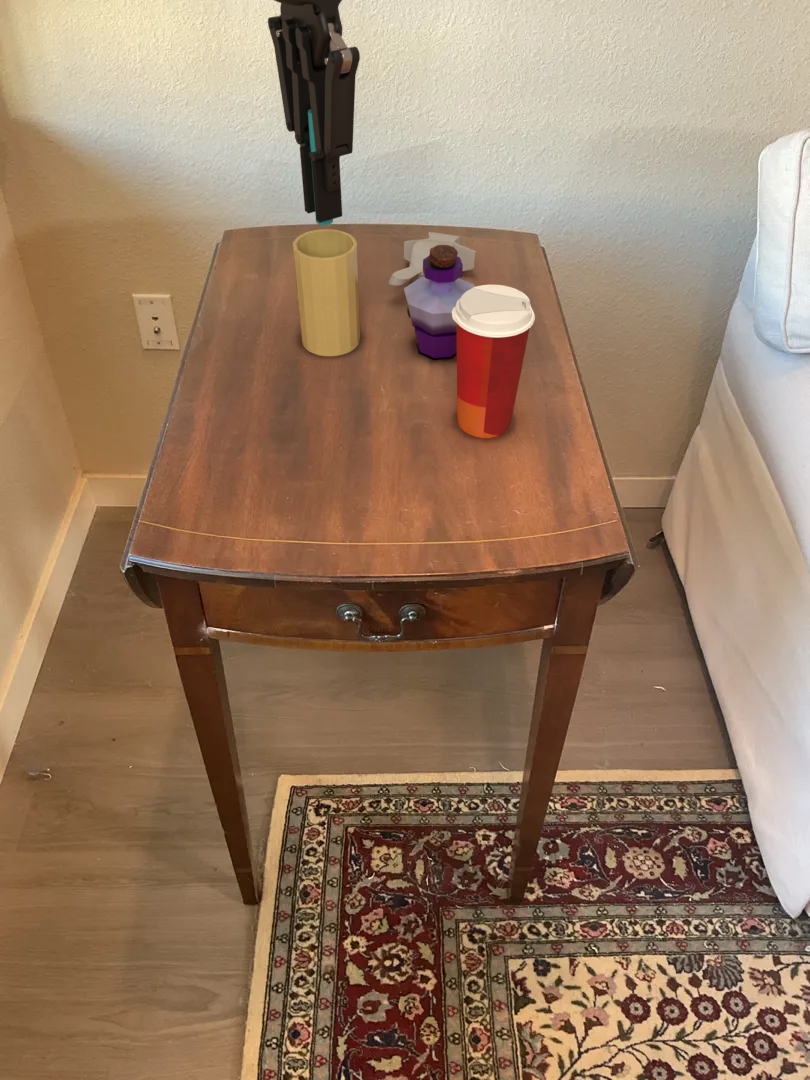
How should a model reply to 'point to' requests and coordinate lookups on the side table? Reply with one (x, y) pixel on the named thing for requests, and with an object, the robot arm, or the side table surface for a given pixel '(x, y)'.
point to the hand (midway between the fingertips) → (323, 213)
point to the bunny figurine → (421, 250)
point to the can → (327, 291)
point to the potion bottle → (437, 303)
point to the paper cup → (490, 356)
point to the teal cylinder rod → (312, 147)
